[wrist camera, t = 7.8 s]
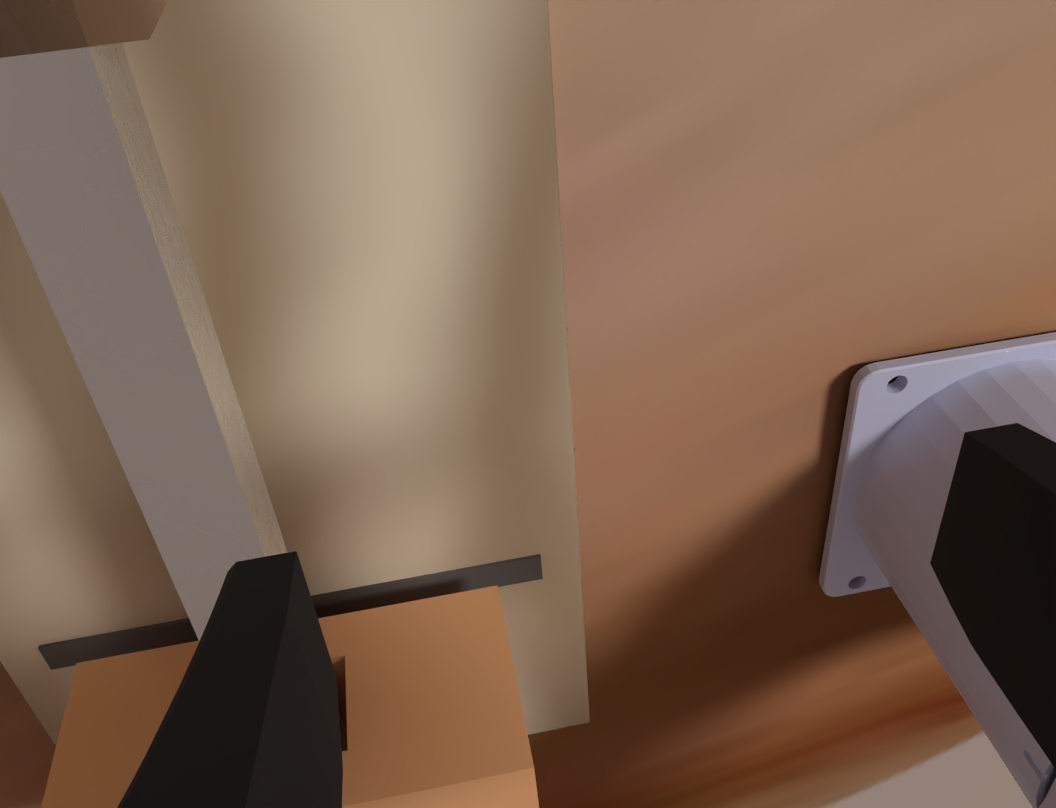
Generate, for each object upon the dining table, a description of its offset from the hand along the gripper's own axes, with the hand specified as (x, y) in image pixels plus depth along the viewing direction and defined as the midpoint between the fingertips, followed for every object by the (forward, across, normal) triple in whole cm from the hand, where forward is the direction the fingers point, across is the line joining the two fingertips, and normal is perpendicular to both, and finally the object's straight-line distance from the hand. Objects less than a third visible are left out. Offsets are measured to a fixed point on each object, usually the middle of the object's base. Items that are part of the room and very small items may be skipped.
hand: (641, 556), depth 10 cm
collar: (+8, +6, +11) cm, 15 cm away
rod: (+7, +6, +5) cm, 10 cm away
